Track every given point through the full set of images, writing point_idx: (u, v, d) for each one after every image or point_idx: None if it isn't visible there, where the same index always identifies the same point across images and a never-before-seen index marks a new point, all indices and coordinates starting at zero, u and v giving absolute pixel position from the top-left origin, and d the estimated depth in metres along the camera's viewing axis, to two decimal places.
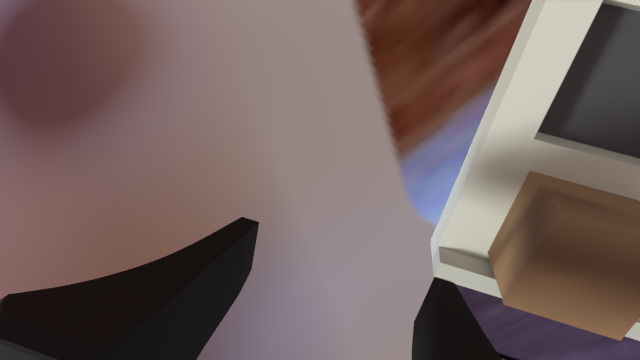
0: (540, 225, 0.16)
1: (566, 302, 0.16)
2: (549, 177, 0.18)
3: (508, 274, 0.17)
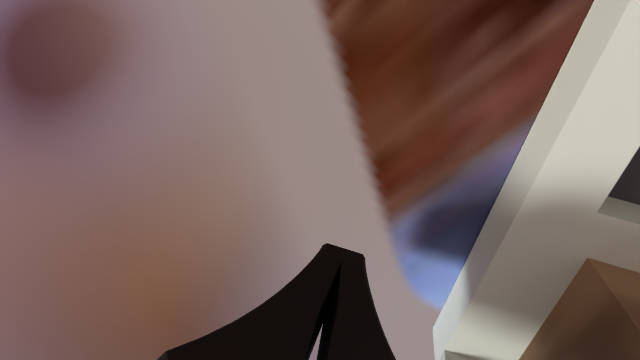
0: None
1: None
2: (619, 270, 0.11)
3: None
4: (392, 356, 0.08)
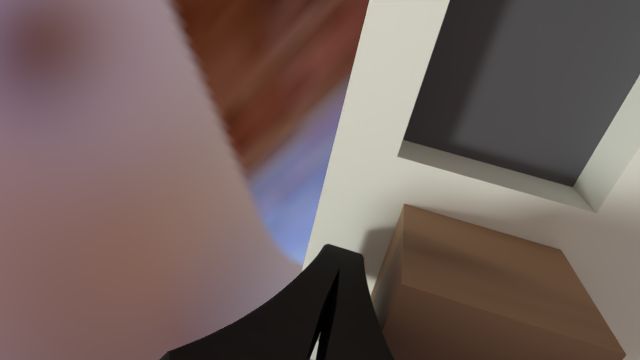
0: (388, 298, 0.10)
1: None
2: (430, 214, 0.12)
3: None
4: (390, 355, 0.08)
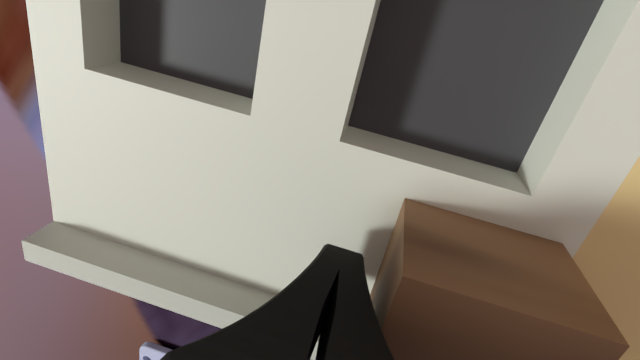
0: (389, 292, 0.10)
1: None
2: (431, 208, 0.12)
3: None
4: (390, 355, 0.08)
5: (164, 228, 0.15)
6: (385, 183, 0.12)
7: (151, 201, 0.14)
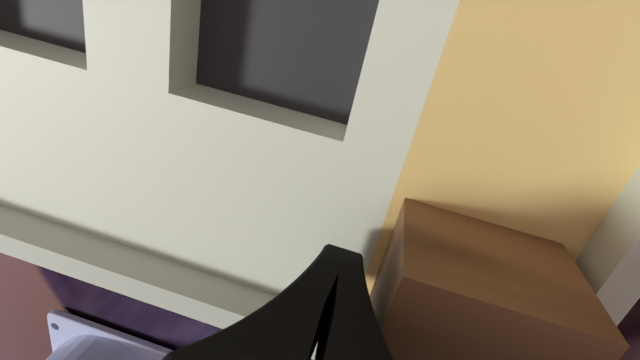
0: (390, 292, 0.10)
1: None
2: (431, 208, 0.12)
3: None
4: (389, 355, 0.08)
5: (34, 187, 0.15)
6: (215, 133, 0.13)
7: (17, 160, 0.15)
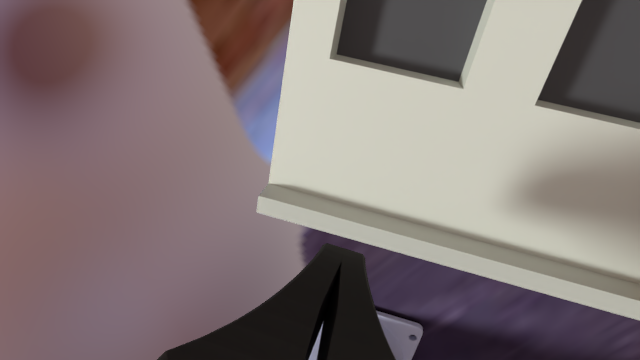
0: None
1: None
2: None
3: None
4: (392, 356, 0.08)
5: (368, 183, 0.19)
6: (567, 136, 0.16)
7: (361, 162, 0.19)
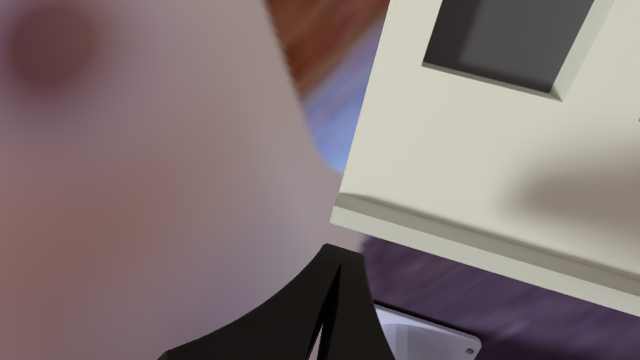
0: None
1: None
2: None
3: None
4: (392, 356, 0.08)
5: (446, 195, 0.18)
6: None
7: (442, 173, 0.18)
